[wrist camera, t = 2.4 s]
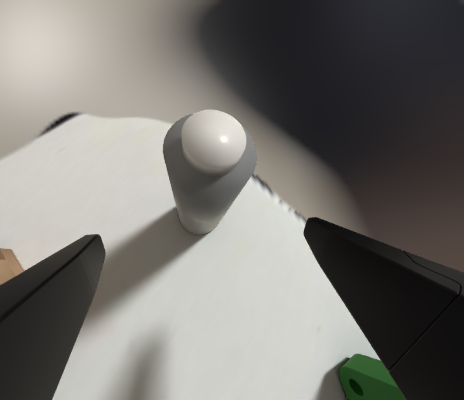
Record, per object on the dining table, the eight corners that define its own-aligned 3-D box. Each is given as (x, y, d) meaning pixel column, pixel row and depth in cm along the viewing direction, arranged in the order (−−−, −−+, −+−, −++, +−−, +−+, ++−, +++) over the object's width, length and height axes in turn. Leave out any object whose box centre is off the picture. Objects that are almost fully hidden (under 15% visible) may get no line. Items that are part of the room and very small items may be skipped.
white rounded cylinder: (227, 207, 20) (279, 128, 8) (207, 242, 18) (236, 205, 7) (193, 187, 20) (197, 79, 8) (170, 220, 18) (134, 145, 7)
